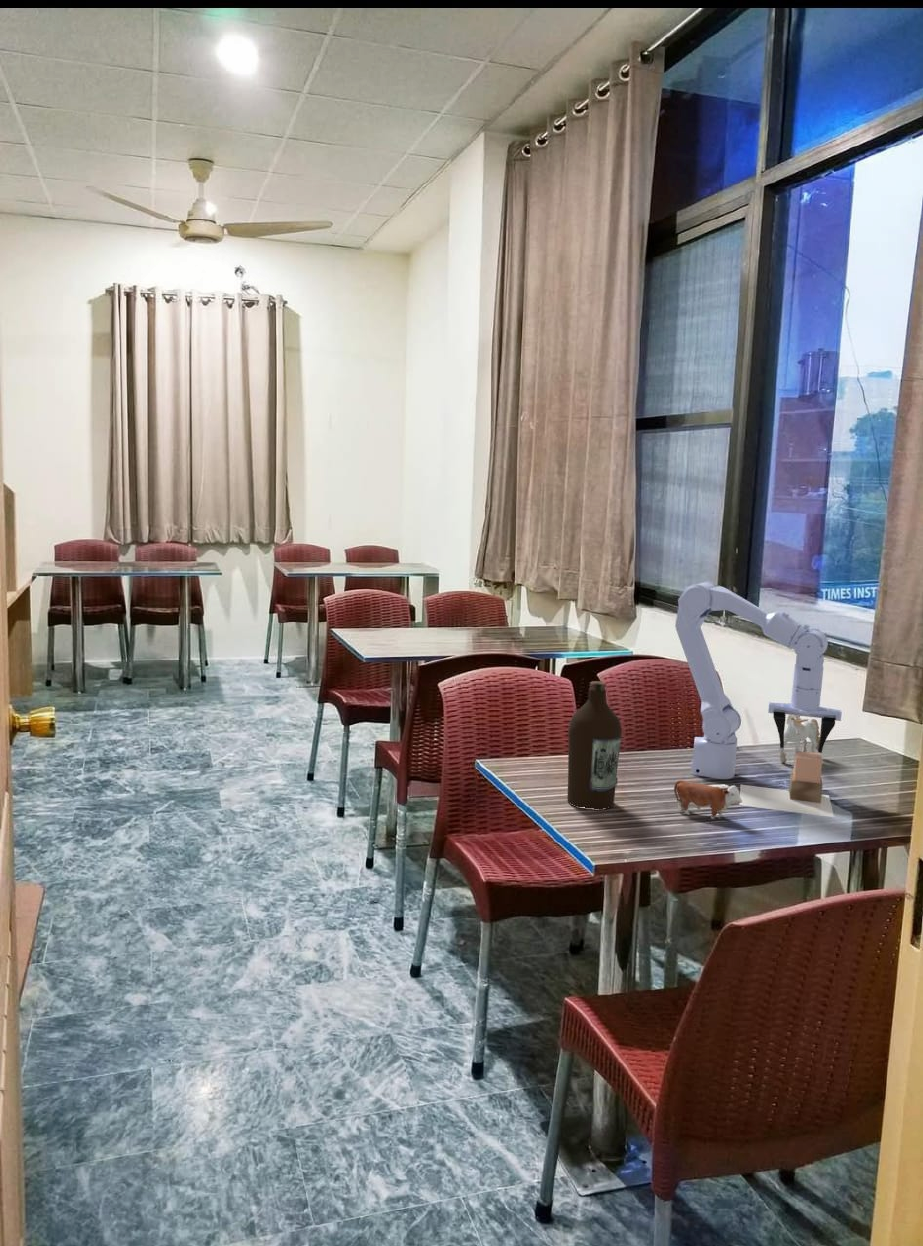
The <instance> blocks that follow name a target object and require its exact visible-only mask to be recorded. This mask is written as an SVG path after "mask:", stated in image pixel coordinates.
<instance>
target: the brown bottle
mask: <svg viewBox="0 0 923 1246" xmlns="http://www.w3.org/2000/svg"><path fill="white" fill-rule="evenodd" d="M606 686H607V683H606V682H605V681H599V680H595V681H594V680H592V681H591V682H589V688H588V699H587V701H586V702H585V703H584V704H583V705H582V706H581V707H580V708H578V710H577V711H576V712H575V713H573V715H572V717H571V718H570V720H569V724H568V731H567V733H568V734H567V735H568V736H567V737H568V739H567V740H568V742H567V743H568V744H567V745H568V746H567V747H568V749H567V750H568V753H567V754H568V758H567V759H568V763H567V770H568V771H567V802H568V804H569V803H571V804H573V805H575V806H578V807H585V808H594V809H603V808H608V807H611V808H612V807H613V806H614V804H615V795H616V794H615V793H616V787H617V786H618V779H619V778H618V777H617V775H618V766H619V758H620V750H621V742H622V733H623V732H622V729H623V728H622V725H621V721H620V719H619V717H618V715H617V714H616V713H615V712H614V710H612V708H611V707H610V706H609V704H608V703H607V702H606V698H607V697H606V696H607V690H606ZM571 804H570V805H571Z"/></svg>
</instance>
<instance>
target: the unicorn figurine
mask: <svg viewBox="0 0 923 1246" xmlns="http://www.w3.org/2000/svg"><path fill="white" fill-rule="evenodd" d="M787 715H788V716H787V719H786V725H787V727H786V728H785V729H784V748H780V746H779V748H778V751H779V760H780V762H781V763H782V764H785V763H786V762H787V758H786V757H787V754H786V753H785V752H784V750H785V746H786V745H787V744H788V742H789V743H793V744H794V746H795V747H794V748H795V751H800V750H801V752H808V751H807V744H808V741H807V739H809V740H810V742H811V743H812V745H811V748H810V750H809V752H810V753H816V750H817V751H818V743H819V738H820V731H819V730H820V726H819V723H818V720H817V719H815V718H810V719H808V718H806V719H804V718H803V719H802V718H800V717H801V716H798V715H789V714H787ZM800 743H802V749H800V745H801V744H800Z"/></svg>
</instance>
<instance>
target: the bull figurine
mask: <svg viewBox="0 0 923 1246" xmlns="http://www.w3.org/2000/svg"><path fill="white" fill-rule="evenodd" d="M673 788H674V790H673V791H674V796H675V798H676V805H677V808H678V809H677V810H678V811H679V812H682V811H684V814H685V815H691V813H690V811H689V805H690V803H692V804H694V805H695V807H696V808H697V810H700V809H701V807H702V808H704V807H705V808H711V816H710V819H712V820H715V817H716V816H717V814H718V817H720V818H722V817H723V811H726V810H727V809H729V808H730V807H731V805H733V804H738V805H739V804H740V803H741V802H742V799H741V798H740V786H736V785H731V786H729V785H727V784H719V785H718V784H711V785H710V784H703V783H697V782H692V781H686V780H678V781H676V783H675V784H674V787H673Z"/></svg>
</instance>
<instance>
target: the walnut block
mask: <svg viewBox="0 0 923 1246" xmlns="http://www.w3.org/2000/svg"><path fill="white" fill-rule="evenodd" d="M789 777H790V778H789V788H788V791H789V795H790V799H792V800H799V801H807V802H815V803H821V795H823V785H824V784H823V781H822V778H821V779H820V784H819V783H811V782H802V781H794V775H793V772H790V776H789Z"/></svg>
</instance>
